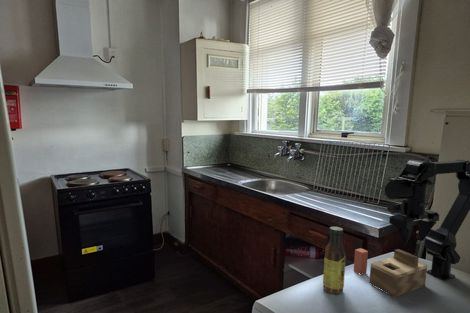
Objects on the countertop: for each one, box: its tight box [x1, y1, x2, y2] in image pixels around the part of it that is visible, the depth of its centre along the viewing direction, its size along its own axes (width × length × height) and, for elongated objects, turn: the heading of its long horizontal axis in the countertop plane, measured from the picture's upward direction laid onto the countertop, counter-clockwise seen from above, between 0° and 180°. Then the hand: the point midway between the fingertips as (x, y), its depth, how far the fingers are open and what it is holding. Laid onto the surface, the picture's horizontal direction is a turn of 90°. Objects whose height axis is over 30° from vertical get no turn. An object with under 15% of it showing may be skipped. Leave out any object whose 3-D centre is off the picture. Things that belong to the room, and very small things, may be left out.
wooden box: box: [368, 265, 428, 298], centre depth 99 cm, size 16×9×6 cm, turn 118°
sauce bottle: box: [322, 226, 346, 295], centre depth 94 cm, size 7×6×20 cm
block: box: [353, 247, 369, 275], centre depth 108 cm, size 3×3×8 cm
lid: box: [370, 248, 428, 278], centre depth 99 cm, size 16×9×4 cm, turn 118°
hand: (412, 242), depth 103 cm, fingers open, 9 cm apart
